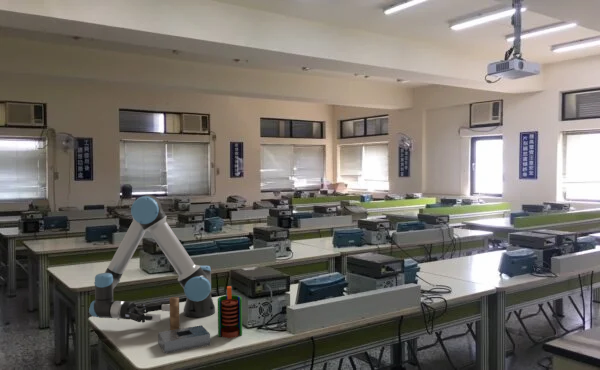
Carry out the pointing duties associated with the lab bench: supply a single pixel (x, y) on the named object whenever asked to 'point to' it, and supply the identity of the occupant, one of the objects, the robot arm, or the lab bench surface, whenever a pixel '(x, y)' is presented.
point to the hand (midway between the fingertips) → (168, 313)
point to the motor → (229, 315)
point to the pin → (174, 313)
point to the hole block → (183, 339)
